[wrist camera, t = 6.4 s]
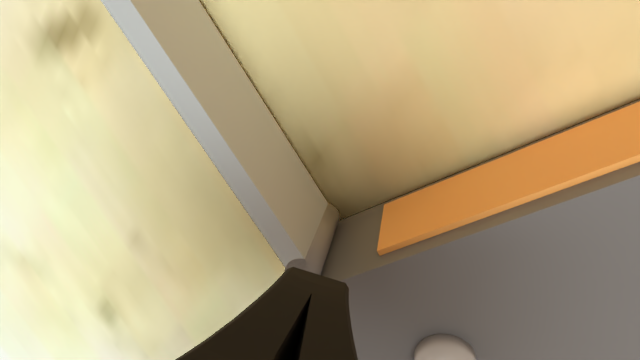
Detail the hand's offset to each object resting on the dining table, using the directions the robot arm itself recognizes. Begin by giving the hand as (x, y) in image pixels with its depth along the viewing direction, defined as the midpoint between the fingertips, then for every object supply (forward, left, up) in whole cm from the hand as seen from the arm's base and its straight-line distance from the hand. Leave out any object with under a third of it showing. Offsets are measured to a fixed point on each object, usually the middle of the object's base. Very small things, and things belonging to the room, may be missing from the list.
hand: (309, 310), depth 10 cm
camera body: (+5, -6, -9) cm, 12 cm away
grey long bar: (-3, +5, -9) cm, 11 cm away
